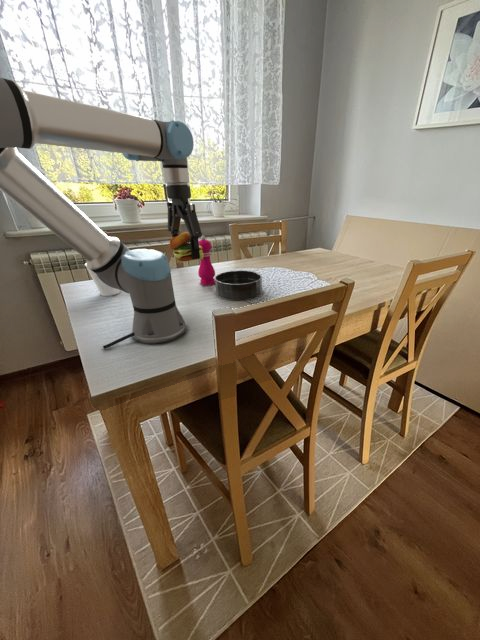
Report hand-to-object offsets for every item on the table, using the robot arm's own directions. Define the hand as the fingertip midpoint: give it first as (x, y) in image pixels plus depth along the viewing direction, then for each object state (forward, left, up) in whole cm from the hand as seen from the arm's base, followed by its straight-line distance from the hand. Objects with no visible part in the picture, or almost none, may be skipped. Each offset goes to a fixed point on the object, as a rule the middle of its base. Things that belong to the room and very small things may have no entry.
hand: (187, 255), depth 103 cm
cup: (-20, +30, -17) cm, 40 cm away
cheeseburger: (0, 0, -1) cm, 1 cm away
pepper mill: (+16, +13, -17) cm, 27 cm away
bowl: (+18, -6, -17) cm, 25 cm away
